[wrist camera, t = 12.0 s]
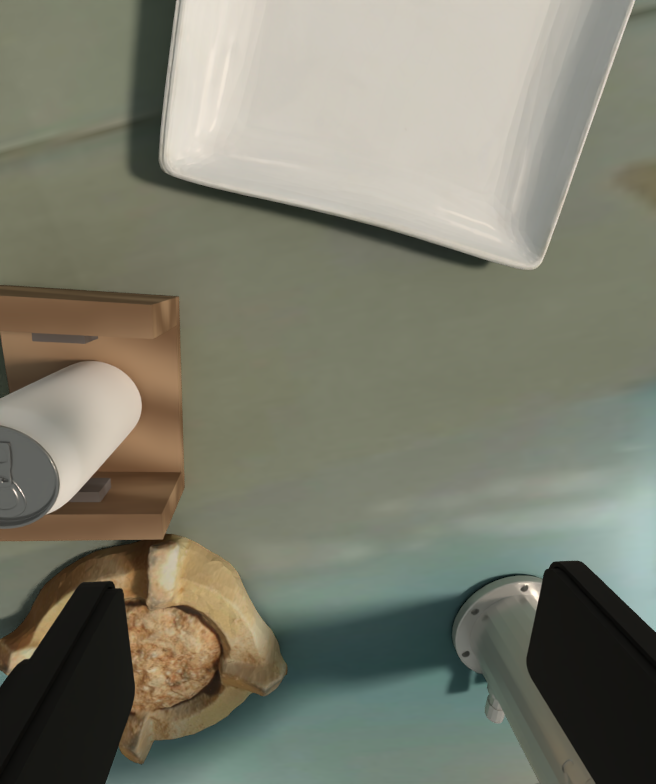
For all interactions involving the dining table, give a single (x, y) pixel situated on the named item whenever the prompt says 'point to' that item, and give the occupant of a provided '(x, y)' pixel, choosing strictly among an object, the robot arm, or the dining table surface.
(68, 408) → the can
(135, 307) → the holder
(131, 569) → the ashtray
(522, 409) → the dining table surface
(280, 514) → the dining table surface
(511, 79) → the square plate
